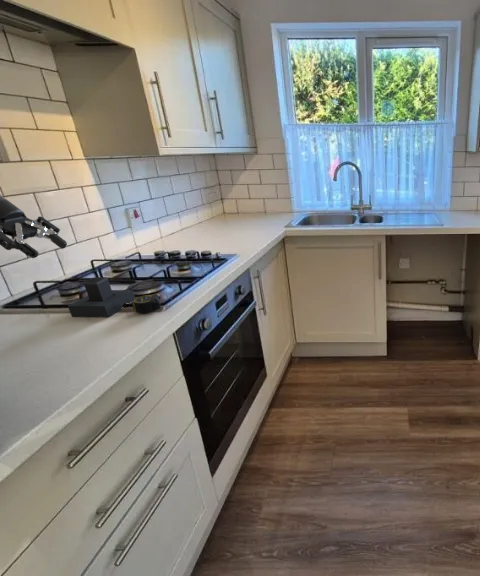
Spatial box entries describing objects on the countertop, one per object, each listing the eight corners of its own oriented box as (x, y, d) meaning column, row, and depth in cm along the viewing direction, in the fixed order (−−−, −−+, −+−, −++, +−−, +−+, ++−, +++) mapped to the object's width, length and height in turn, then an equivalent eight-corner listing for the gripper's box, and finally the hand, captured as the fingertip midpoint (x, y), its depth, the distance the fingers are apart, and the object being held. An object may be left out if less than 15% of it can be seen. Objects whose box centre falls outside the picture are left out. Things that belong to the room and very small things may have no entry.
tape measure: (162, 312, 103) (158, 300, 102) (134, 318, 100) (130, 305, 99) (162, 303, 109) (159, 291, 107) (135, 308, 106) (131, 297, 104)
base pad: (108, 317, 101) (104, 306, 99) (71, 316, 102) (67, 305, 100) (136, 300, 111) (132, 290, 110) (102, 300, 112) (98, 289, 110)
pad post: (107, 311, 104) (96, 282, 101) (93, 311, 105) (82, 282, 101) (117, 305, 108) (107, 277, 105) (104, 304, 108) (94, 277, 105)
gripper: (-32, 204, 88) (31, 249, 91) (25, 194, 101) (78, 234, 105) (-41, 225, 90) (21, 268, 94) (16, 213, 103) (68, 252, 107)
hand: (51, 250), depth 99 cm, fingers open, 8 cm apart
